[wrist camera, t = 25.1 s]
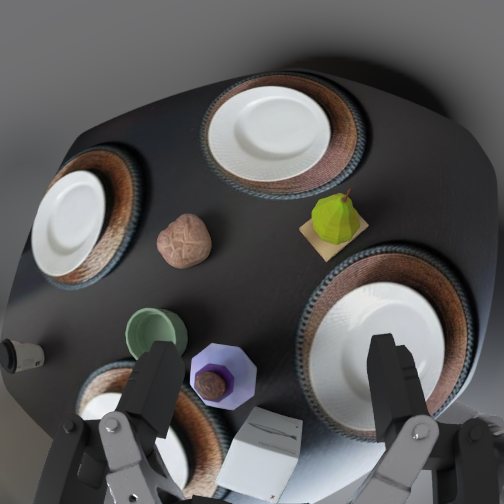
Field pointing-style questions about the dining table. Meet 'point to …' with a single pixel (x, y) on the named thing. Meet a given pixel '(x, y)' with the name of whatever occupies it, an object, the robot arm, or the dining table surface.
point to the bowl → (154, 330)
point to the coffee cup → (20, 356)
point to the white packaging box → (262, 455)
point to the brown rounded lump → (185, 242)
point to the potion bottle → (223, 376)
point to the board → (324, 247)
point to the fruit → (335, 219)
